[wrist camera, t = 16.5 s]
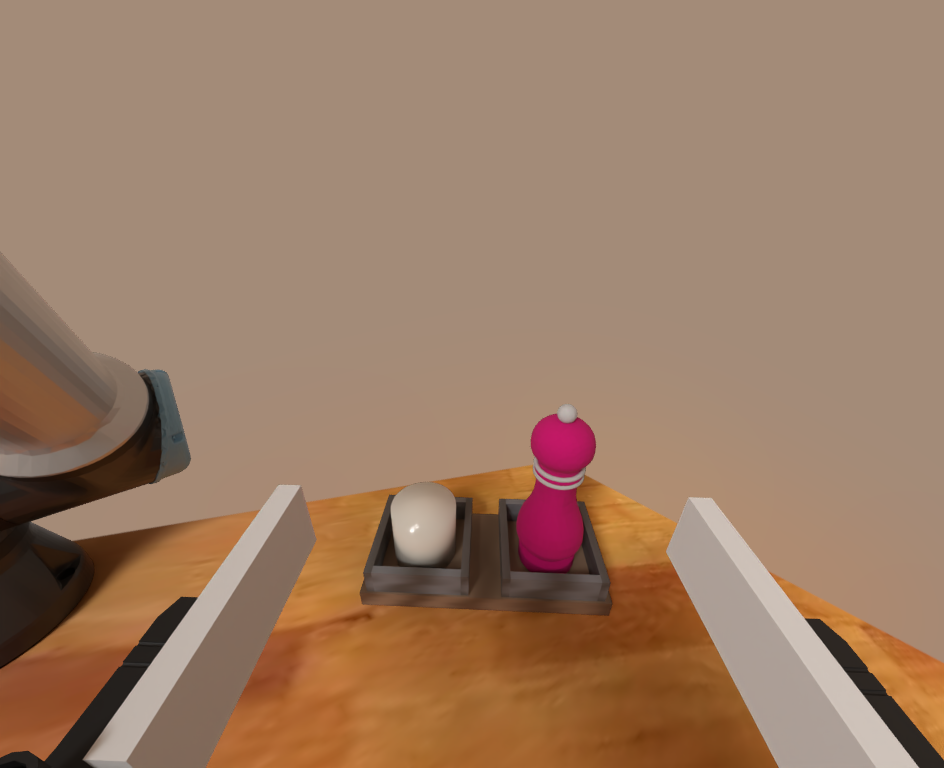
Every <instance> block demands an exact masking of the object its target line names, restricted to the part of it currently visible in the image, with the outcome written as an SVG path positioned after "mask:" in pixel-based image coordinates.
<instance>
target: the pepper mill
mask: <svg viewBox="0 0 944 768" xmlns="http://www.w3.org/2000/svg"><path fill="white" fill-rule="evenodd" d="M595 448H596V441H595V436H594V433H593V431H592V430H591V428H590V427H589V425H587V424H586V423H585V422H584V421H583V420H581V419H580V418H578V417H577V410H576V408H575V407H574V406H572V405H570V404H564V405H562V406H560V408H559V409H558V412H557V414H553V415H549V416H547V417H545V418H543V419H542V420H541V421H539V422H538V424H537V425H536V426H535V428H534V430H533V432H532V437H531V449H532V452H533V454H534V456H535V457H534V465H533V473H534V475H535V477H536V483H535V487H534V490H533V492H532V493H531V495H530V496H529V497H528V498H527V500H526V501H525V502H524V503H523V505H522V507H521V509H520V511H519V513H518V517H517V522H516V529H517V534H518V537H519V545H518V554H519V558H520V560H521V562H522V563H523V565H524V566H525V567H526V568H527V569H528V570H529V571H530V572H537V573H561V574H566V573H567V572H568V571H569V570H570V569H571V567H572V564H573V559H574V554H575V553H576V552H577V551H578V550H579V548H580V546H581V544H582V541H583V531H584V528H583V520H582V516H581V513H580V510H579V507H578V504H577V499H576V490H577V487H578V486H579V485H580V484H581V483H582V482H583V480H584V474H585V471H586V466H587V465H588V464H589V463H590V462H591V461H592V459H593V457H594V454H595Z"/></svg>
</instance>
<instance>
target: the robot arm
mask: <svg viewBox="0 0 944 768" xmlns="http://www.w3.org/2000/svg"><path fill="white" fill-rule="evenodd" d="M190 460H191V458H190V452H189V448H188V445H187V441H186V437H185V433H184V430H183V426H182V422H181V419H180V415H179V411H178V408H177V404H176V401H175V397H174V394H173V390H172V386H171V383H170V379H169V376H168V374H167V373H166V372H165V371H162V370H146V369H145V370H141V371H139V372H138V373H137V372H136V371H135V370H134V369H133V368H131V367H130V366H129V365H127V364H126V363H124V362H122V361H120V360H118V359H116V358H113V357H110V356H107V355H104V354H100V353H95V352H91V351H90V350H89V349H88V347H87V346H86V345H85V344H84V343H83V342H82V341H81V340H80V339H79V337H77V335H75V333H74V332H73V331H72V330H71V329H70V328H69V326H68V325H67V324H66V323H65V322H64V321H63V320H62V319H61V318H60V317H59V316H58V314H57V313H56V312H55V311H54V310H53V309H52V308H51V307H50V306H49V305H48V303H47V302H46V301H45V300H44V299H43V298H42V297H41V296H40V295H39V294H38V292H36V290H35V289H34V288H33V287H32V286H31V285H30V284H29V283H28V282H27V280H26V279H25V278H24V277H23V276H22V275H21V274H20V273H19V272H18V271H17V269H16V268H15V267H14V266H13V265H12V264H11V263H10V262H9V261H8V260H7V259H6V258H5V256H4V255H3V254H2V253H1V252H0V667H2V666H3V665H5V664H6V663H8V662H9V661H11V660H12V659H14V658H15V657H17V656H18V655H20V654H21V653H23V652H24V651H26V650H27V649H28V648H30V647H31V646H32V645H34V644H35V643H36V642H38V641H39V640H40V639H41V638H43V637H44V636H45V635H46V634H47V633H49V632H50V631H51V630H52V629H53V628H54V627H55V626H57V625H58V624H59V623H60V622H61V621H62V620H63V619H64V618H65V617H66V616H67V615H68V614H69V613H70V612H71V611H72V609H73V608H74V607H75V606H76V605H77V604H78V602H79V601H80V600H81V598H82V597H83V596H84V594H85V593H86V591H87V589H88V587H89V585H90V583H91V581H92V578H93V575H94V564H93V562H92V560H91V559H90V557H89V556H88V555H87V553H86V552H85V551H84V549H83V548H82V547H81V546H79V545H78V544H77V543H75V542H73V541H71V540H68V539H66V538H64V537H62V536H60V535H57V534H55V533H53V532H51V531H49V530H47V529H45V528H43V527H40V526H38V525H36V524H34V523H32V522H31V521H33V520H36V519H39V518H43V517H46V516H49V515H52V514H55V513H58V512H61V511H64V510H67V509H71V508H74V507H77V506H80V505H83V504H86V503H89V502H92V501H95V500H99V499H102V498H105V497H108V496H111V495H114V494H117V493H120V492H123V491H126V490H129V489H133V488H136V487H139V486H142V485H145V484H148V483H149V484H153V483H157V482H159V481H160V480H161V479H163V478H165V477H168V476H171V475H174V474H176V473H179V472H181V471H183V470H184V469H186V468H187V466H188V465H189V463H190ZM315 542H316V537H315V533H314V530H313V526H312V523H311V519H310V516H309V512H308V508H307V505H306V501H305V498H304V495H303V491H302V487H301V485H278V486H277V488H276V489H275V491H274V492H273V494H272V495H271V496H270V498H269V499H268V501H267V502H266V503H265V505H264V506H263V507H262V509H261V510H260V512H259V513H258V514H257V516H256V517H255V519H254V520H253V521H252V523H251V524H250V526H249V527H248V528H247V530H246V531H245V533H244V534H243V535H242V537H241V538H240V540H239V541H238V542H237V544H236V545H235V547H234V548H233V549H232V551H231V552H230V554H229V555H228V556H227V558H226V559H225V561H224V562H223V563H222V565H221V566H220V568H219V569H218V570H217V572H216V573H215V575H214V576H213V577H212V579H211V580H210V582H209V583H208V585H207V586H206V587H205V589H204V590H203V592H202V593H201V594H200V596H199V597H181V598H179V599H178V600H177V601H176V602H175V603H174V604H172V605H171V606H170V607H169V608H168V609H167V610H165V611H164V612H163V613H162V614H161V615H160V616H158V617H157V619H156V620H155V621H154V623H153V624H152V625H151V626H150V628H149V629H148V630H147V632H146V633H145V634H144V635H143V637H142V638H141V639H140V641H139V644H138V645H137V646H135V647H134V648H133V650H132V651H131V652H130V653H129V655H128V656H127V657H126V659H125V660H124V661H123V665H122V666H121V667H119V668H118V669H117V670H116V671H115V673H114V674H113V675H112V677H111V678H110V679H109V680H108V682H107V683H106V684H105V686H104V687H103V688H102V689H101V691H100V692H99V693H98V695H97V696H96V697H95V698H94V700H93V701H92V702H91V704H90V705H89V706H88V708H87V709H86V710H85V711H84V713H83V714H82V715H81V717H80V718H79V719H78V720H77V722H76V723H75V724H74V726H73V727H72V728H71V729H70V731H69V732H68V733H67V735H66V736H65V737H64V738H63V740H62V741H61V742H60V744H59V745H58V746H57V747H56V749H55V750H54V751H53V752H52V753H51V754H50V756H49V757H48V758H47V759H46V760H45V761H42V760H41V759H39V758H38V757H37V756H35V755H34V754H32V753H31V752H29V751H22V752H12V753H10V754H8V755H5V756H3V757H1V758H0V768H206V766H207V764H208V762H209V759H210V757H211V755H212V753H213V751H214V749H215V747H216V745H217V743H218V741H219V739H220V737H221V735H222V733H223V731H224V729H225V727H226V725H227V723H228V720H229V718H230V716H231V714H232V712H233V710H234V708H235V706H236V704H237V702H238V700H239V698H240V696H241V694H242V692H243V690H244V688H245V686H246V683H247V681H248V679H249V677H250V675H251V673H252V671H253V669H254V667H255V665H256V663H257V661H258V659H259V657H260V655H261V653H262V651H263V649H264V647H265V644H266V642H267V640H268V638H269V636H270V634H271V632H272V630H273V628H274V626H275V624H276V622H277V620H278V618H279V616H280V614H281V612H282V610H283V607H284V605H285V603H286V601H287V599H288V597H289V595H290V593H291V591H292V589H293V587H294V585H295V583H296V581H297V579H298V577H299V575H300V573H301V571H302V568H303V566H304V564H305V562H306V560H307V558H308V556H309V554H310V552H311V550H312V548H313V546H314V544H315ZM666 553H667V554H668V556H669V558H670V560H671V562H672V564H673V566H674V568H675V570H676V572H677V574H678V576H679V577H680V579H681V581H682V583H683V585H684V587H685V589H686V591H687V593H688V595H689V597H690V598H691V600H692V602H693V604H694V606H695V608H696V610H697V612H698V614H699V616H700V618H701V620H702V621H703V623H704V625H705V627H706V629H707V631H708V633H709V635H710V637H711V639H712V641H713V642H714V644H715V646H716V648H717V650H718V652H719V654H720V656H721V658H722V660H723V662H724V664H725V665H726V667H727V669H728V671H729V673H730V675H731V677H732V679H733V681H734V683H735V685H736V686H737V688H738V690H739V692H740V694H741V696H742V698H743V700H744V702H745V704H746V706H747V708H748V709H749V711H750V713H751V715H752V717H753V719H754V721H755V723H756V725H757V727H758V729H759V730H760V732H761V734H762V736H763V738H764V740H765V742H766V744H767V746H768V748H769V750H770V752H771V753H772V755H773V757H774V759H775V761H776V763H777V765H778V767H779V768H944V760H943V759H942V758H941V756H940V755H939V754H938V753H937V751H936V750H935V749H934V748H933V747H932V745H931V744H930V743H929V742H928V741H927V739H926V738H925V737H924V736H923V734H922V733H921V732H920V731H919V730H918V728H917V727H916V726H915V725H914V724H913V722H912V721H911V720H910V719H909V717H908V716H907V715H906V714H905V713H904V711H903V710H902V709H901V708H900V707H899V705H898V704H897V703H896V702H895V700H894V699H893V698H892V697H891V696H888V695H887V693H886V690H885V688H884V687H883V686H882V685H881V683H880V682H879V681H878V680H877V679H876V677H875V676H874V675H873V674H872V673H870V672H869V671H868V668H867V666H866V665H865V664H864V663H863V662H862V660H861V659H860V658H859V657H858V656H857V654H856V653H855V652H854V651H853V649H852V648H851V647H850V646H849V645H848V643H847V642H846V641H845V640H844V639H842V638H841V637H840V636H839V635H838V634H837V633H835V632H834V631H833V630H832V629H831V628H830V627H828V626H827V625H826V624H825V623H824V622H823V621H821V620H820V619H806V618H803V616H802V615H801V614H800V612H799V611H798V610H797V608H796V607H795V606H794V605H793V603H792V602H791V601H790V599H789V598H788V597H787V595H786V594H785V593H784V592H783V590H782V589H781V588H780V586H779V585H778V584H777V582H776V581H775V580H774V579H773V577H772V576H771V575H770V573H769V572H768V571H767V569H766V568H765V567H764V566H763V564H762V563H761V562H760V560H759V559H758V558H757V557H756V555H755V554H754V553H753V551H752V550H751V549H750V547H749V546H748V545H747V543H746V542H745V541H744V540H743V538H742V537H741V536H740V534H739V533H738V532H737V530H736V529H735V528H734V527H733V525H732V524H731V523H730V521H729V520H728V519H727V517H726V516H725V515H724V514H723V512H722V511H721V510H720V508H719V507H718V506H717V504H716V503H715V502H714V501H713V500H712V498H691V497H689V498H688V500H687V503H686V505H685V507H684V510H683V512H682V515H681V517H680V519H679V522H678V524H677V527H676V529H675V531H674V534H673V536H672V539H671V541H670V543H669V546H668V548H667V550H666Z"/></svg>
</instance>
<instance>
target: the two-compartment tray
mask: <svg viewBox="0 0 944 768" xmlns="http://www.w3.org/2000/svg"><path fill="white" fill-rule="evenodd" d="M395 496H396V495H389V497H388V500H387V503H386V506H385V509H384V512H383V515H382V518H381V521H380V524H379V527H378V530H377V533H376V536H375V539H374V542H373V545H372V548H371V551H370V554H369V557H368V560H367V563H366V566H365V569H364V572H363V574H364V581H363V584H362V587H361V590H360V596H361V601H362V604H367V605H389V606H411V607H433V608H456V609H478V610H500V611H522V612H544V613H567V614H589V615H609V614H610V610H611V607H612V600H611V597H610V594H609V591H608V590H609V587H610V584H611V583H610V580H609V577H608V574H607V571H606V567H605V564H604V561H603V558H602V555H601V552H600V549H599V546H598V543H597V540H596V537H595V534H594V531H593V528H592V524H591V521H590V518H589V515H588V512H587V509H586V506H585V503H584V502H578V501H577V504H578V507H579V510H580V513H581V516H582V520H583V528H584V531H583V541H582V544H581V546H580V548H579V550H578V551H577V552H576V553H575V554H574V559H573V564H572V567H571V569H570V570H569V571H568V572H567V573H566V574H561V573H537V572H530V571H529V570H528V569H527V568H526V567H525V566H524V565H523V563H522V562H521V560H520V558H519V554H518V545H519V537H518V534H517V529H516V522H517V517H518V513H519V511H520V509H521V507H522V505H523V503H524V502H525V501H526V500H521V499H499V513H498V515H497V514H472V498H464V497H455V500H456V549H455V555H454V557H453V559H452V561H451V563H450V564H449V565H448V566H447V567H446V568H445V569H441V568H417V567H400V566H399V564H398V562H397V560H396V555H395V546H394V537H393V528H392V519H391V504H392V501H393V499H394V497H395Z"/></svg>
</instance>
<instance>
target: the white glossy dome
mask: <svg viewBox="0 0 944 768" xmlns="http://www.w3.org/2000/svg"><path fill="white" fill-rule="evenodd" d="M391 519H392V528H393V537H394V546H395V555H396V560H397V562H398V564H399V566H400V567H417V568H441V569H445V568H446V567H447V566H448V565H449V564H450V563H451V561H452V559H453V557H454V555H455V549H456V500H455V497H454V495H453V494H452V492H451V491H450V490H449V489H447V488H446V487H444V486H443V485H440V484H437V483H433V482H420V483H415V484H412V485H409V486H407V487H405V488H404V489H402V490H401V491H400V492H399V493H398V494H397V495H396V496H395V497H394V499H393V501H392V504H391Z"/></svg>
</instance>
